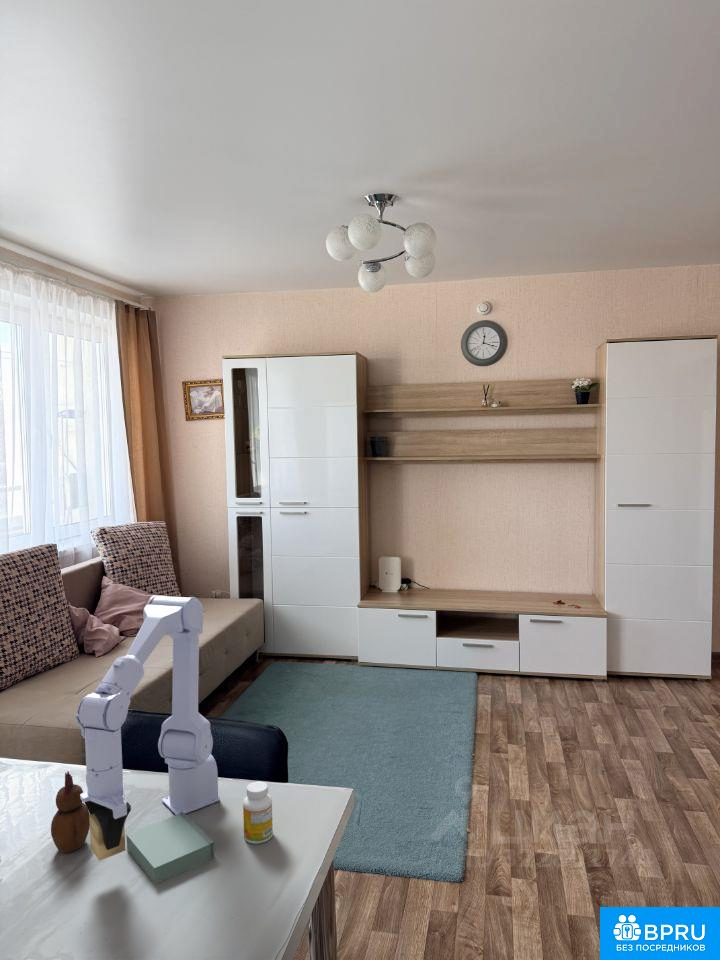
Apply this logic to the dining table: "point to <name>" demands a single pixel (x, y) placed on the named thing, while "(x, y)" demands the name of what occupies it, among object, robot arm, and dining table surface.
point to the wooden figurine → (70, 817)
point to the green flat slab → (170, 847)
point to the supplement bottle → (257, 813)
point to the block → (98, 841)
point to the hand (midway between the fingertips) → (107, 840)
